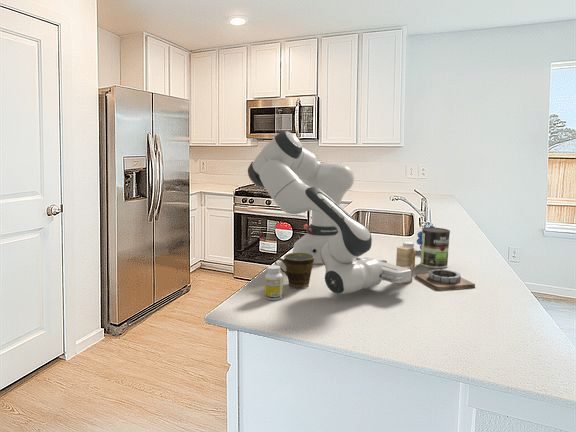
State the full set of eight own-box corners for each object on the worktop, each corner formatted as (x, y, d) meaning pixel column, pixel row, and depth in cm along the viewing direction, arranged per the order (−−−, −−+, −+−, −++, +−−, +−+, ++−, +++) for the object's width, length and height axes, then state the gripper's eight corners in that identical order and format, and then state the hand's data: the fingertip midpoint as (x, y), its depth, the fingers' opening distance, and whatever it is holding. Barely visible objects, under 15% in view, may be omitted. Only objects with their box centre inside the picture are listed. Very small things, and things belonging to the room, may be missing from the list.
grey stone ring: (439, 284, 145) (439, 278, 144) (422, 275, 154) (423, 270, 154) (466, 282, 147) (466, 276, 147) (448, 274, 157) (449, 268, 156)
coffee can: (453, 267, 170) (455, 231, 167) (429, 269, 167) (432, 232, 165) (437, 260, 179) (439, 226, 177) (415, 262, 177) (417, 227, 174)
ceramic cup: (312, 280, 152) (312, 252, 150) (315, 290, 142) (315, 260, 141) (274, 280, 152) (274, 252, 150) (274, 290, 142) (275, 260, 140)
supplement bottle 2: (417, 267, 169) (418, 242, 168) (409, 270, 166) (411, 245, 164) (404, 264, 173) (406, 240, 172) (397, 267, 170) (398, 242, 168)
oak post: (405, 284, 149) (406, 249, 147) (395, 281, 152) (396, 247, 150) (412, 281, 152) (413, 247, 150) (402, 279, 155) (404, 245, 153)
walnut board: (437, 290, 143) (437, 287, 142) (415, 277, 156) (415, 274, 156) (474, 287, 146) (475, 284, 146) (450, 275, 159) (450, 272, 159)
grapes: (445, 252, 193) (447, 225, 191) (437, 255, 188) (439, 227, 186) (421, 248, 201) (422, 222, 199) (413, 250, 196) (414, 224, 195)
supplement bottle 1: (273, 293, 139) (273, 263, 137) (286, 297, 136) (286, 266, 134) (261, 298, 135) (261, 267, 133) (274, 302, 132) (274, 270, 130)
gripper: (395, 270, 131) (423, 263, 139) (346, 256, 147) (373, 250, 155) (394, 290, 132) (422, 282, 140) (345, 274, 148) (372, 267, 156)
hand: (396, 265), depth 148 cm, fingers open, 8 cm apart
